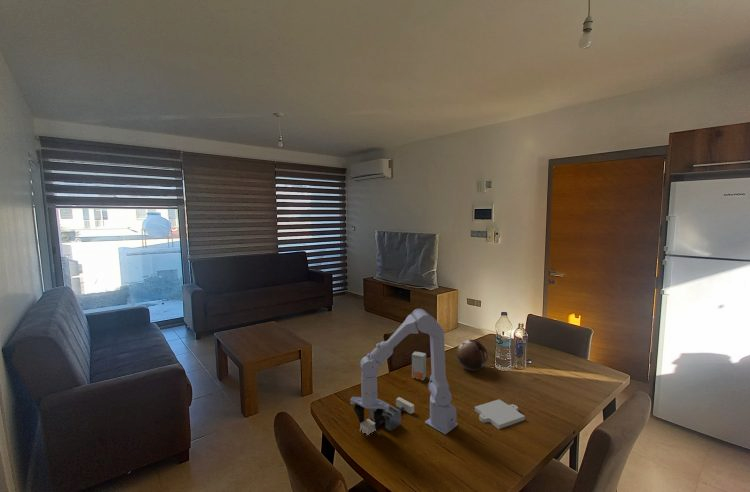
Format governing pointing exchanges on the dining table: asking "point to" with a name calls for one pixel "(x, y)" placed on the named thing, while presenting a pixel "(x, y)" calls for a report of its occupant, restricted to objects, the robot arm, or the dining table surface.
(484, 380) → the dining table surface
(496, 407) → the mounting plate
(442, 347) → the robot arm
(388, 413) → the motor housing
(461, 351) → the wooden sphere
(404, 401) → the white ended gray rod
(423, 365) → the skincare box
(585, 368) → the dining table surface
